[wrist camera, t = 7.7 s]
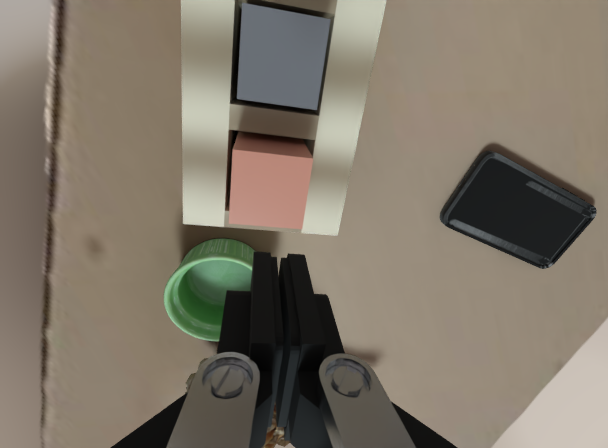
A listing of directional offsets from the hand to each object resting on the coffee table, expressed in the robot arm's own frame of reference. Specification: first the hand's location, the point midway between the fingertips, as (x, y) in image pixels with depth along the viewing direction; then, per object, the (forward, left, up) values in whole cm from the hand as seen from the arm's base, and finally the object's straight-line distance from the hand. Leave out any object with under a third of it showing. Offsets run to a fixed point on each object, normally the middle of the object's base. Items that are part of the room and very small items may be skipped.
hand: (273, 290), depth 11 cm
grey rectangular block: (-7, 0, -16) cm, 18 cm away
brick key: (0, 0, -15) cm, 15 cm away
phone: (+3, +25, -19) cm, 32 cm away
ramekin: (+12, -3, -19) cm, 22 cm away
